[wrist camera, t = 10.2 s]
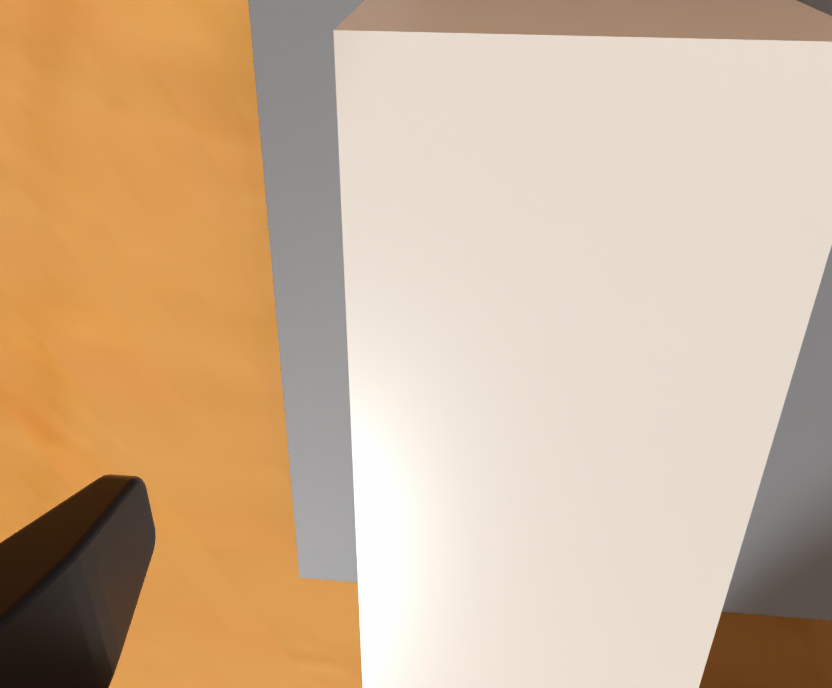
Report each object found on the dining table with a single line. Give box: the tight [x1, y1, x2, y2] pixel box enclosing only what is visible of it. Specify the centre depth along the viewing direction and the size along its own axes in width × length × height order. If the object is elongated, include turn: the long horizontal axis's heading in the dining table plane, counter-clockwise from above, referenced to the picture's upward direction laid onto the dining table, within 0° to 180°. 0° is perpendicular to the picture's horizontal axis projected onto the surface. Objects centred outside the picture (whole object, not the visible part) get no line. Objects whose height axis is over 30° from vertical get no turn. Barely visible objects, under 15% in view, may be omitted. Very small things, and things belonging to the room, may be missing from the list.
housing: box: [333, 0, 832, 688], centre depth 12 cm, size 5×10×6 cm, turn 0°
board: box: [248, 0, 832, 621], centre depth 15 cm, size 21×18×2 cm
